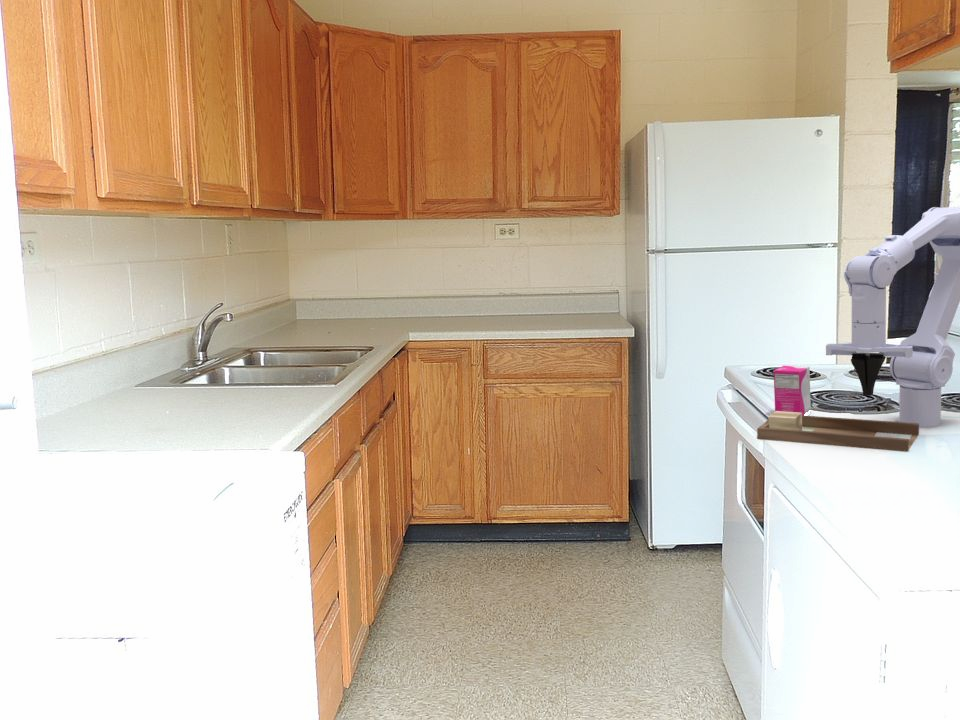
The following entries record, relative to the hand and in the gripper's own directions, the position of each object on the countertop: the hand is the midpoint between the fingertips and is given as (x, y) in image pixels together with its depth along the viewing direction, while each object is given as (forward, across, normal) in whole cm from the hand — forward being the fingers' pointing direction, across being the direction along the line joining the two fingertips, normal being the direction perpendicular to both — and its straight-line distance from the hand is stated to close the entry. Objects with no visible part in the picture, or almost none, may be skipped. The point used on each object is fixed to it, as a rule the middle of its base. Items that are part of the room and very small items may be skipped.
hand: (868, 394), depth 164 cm
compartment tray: (+9, -5, -2) cm, 11 cm away
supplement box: (+10, -17, +13) cm, 23 cm away
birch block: (+8, -14, -2) cm, 17 cm away
